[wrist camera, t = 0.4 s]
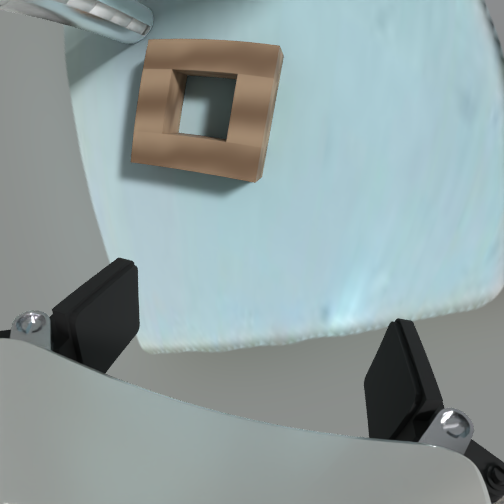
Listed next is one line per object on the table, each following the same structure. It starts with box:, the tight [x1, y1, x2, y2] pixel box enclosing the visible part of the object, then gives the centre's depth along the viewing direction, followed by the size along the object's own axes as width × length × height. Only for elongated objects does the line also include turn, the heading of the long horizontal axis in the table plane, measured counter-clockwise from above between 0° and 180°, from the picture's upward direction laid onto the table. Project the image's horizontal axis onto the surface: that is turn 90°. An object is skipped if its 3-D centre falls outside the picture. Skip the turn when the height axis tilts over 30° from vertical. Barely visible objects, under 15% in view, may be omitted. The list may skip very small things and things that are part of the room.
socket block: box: [131, 39, 284, 183], centre depth 35 cm, size 16×16×5 cm
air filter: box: [0, 0, 154, 44], centre depth 23 cm, size 6×6×25 cm
